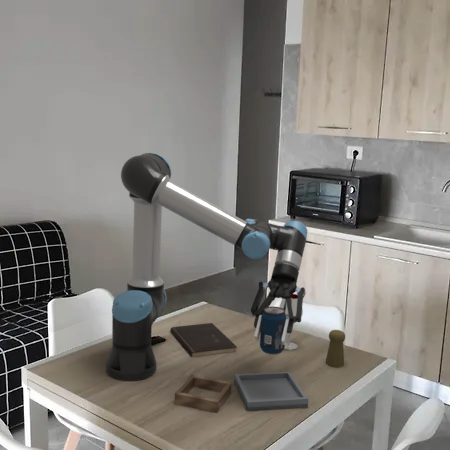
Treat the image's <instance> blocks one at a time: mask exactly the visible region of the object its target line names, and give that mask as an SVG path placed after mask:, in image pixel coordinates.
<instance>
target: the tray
mask: <svg viewBox="0 0 450 450" xmlns="http://www.w3.org/2000/svg"><path fill="white" fill-rule="evenodd" d="M233 377H234V378H233V382H234V385H235V387H236V389H237V391H238V394H239V395H240V397H241V399H242V402H243V404H244V406H245V408H246V410H247V412H250V411H252V412H253V411H267V410H268V411H269V410H284V409H297V408H298V409H299V408H308V406H309V397H308V396H307V395H306V393H305V392H304V390H303V388H301V386H300V385H299V383H298V382H297V380H296V379H295V377H294V376H293V374H292V373H291V372H290V371H278V372H277V371H274V372H273V371H272V372H271V371H270V372H257V373H256V372H255V373H254V372H253V373H252V372H251V373H234V376H233Z"/></svg>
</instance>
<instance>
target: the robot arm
mask: <svg viewBox="0 0 450 450" xmlns="http://www.w3.org/2000/svg"><path fill="white" fill-rule="evenodd" d="M171 178H172V168H171V165H170V163H169V161H168V160H167V159H166V158H165V157H164V156H163V155H161V154H158V153H154V152H153V153H152V152H145V153H142V154H140V155H135V156H132V157H130V158H129V159H127V160H126V162H124V164H123V165H122V168H121V172H120V180H121V182H122V184H123V186H124V188H125V190H127V191H128V192H129V194H128V195H129V196H128V197H129V199H131V200H132V202H133V206H134V207H133V235H132V238H133V239H132V241H133V242H132V272H131V273H132V274H131V277H129V278H128V279H127V284H126V285H127V286H126V289H127V290H126V291H125V292H120V293H119V294H117V295H116V296H115V297H114V299H113V300H112V306H111V313H112V318H111V319H112V323H111V325H112V326H111V327H112V329H111V330H112V331H111V332H112V336H111V337H112V338H111V339H112V342H111V343H112V346H111V349H110V352H109V354H108V357H107V360H106V363H105V364H106V365H105V369H106V370H105V372H106V373H107V375H108V376H109V377H111V378H114V379H116V380H118V381H119V380H120V381H129V382H130V381H139V380H140V381H141V380H145V379H148V378H149V377H152V376H153V375H154V374H155V373H156V372H157V363H158V362H157V360H156V355H155V353H154V349H153V346H152V328H153V324H154V323H155V321H156V320H157V319H158V318H159V317H160V316H161V315H162V313H163V312H164V311H165V308H166V305H167V300H168V299H167V293H166V290H165V287H164V286H165V281H164V279H162V277H161V276H160V272H161V271H160V270H161V269H160V268H161V267H160V266H161V244H162V243H161V240H162V239H161V237H162V236H161V234H162V213H163V211H162V210H163V208H165V209H166V210H169V211H171V212H172V213H174V214H176V215H178V216H179V217H181V218H183V219H186V221H188V222H191V223H192V224H195V225H196V226H198V227H200V228H202V229H203V230H205V231H207V232H208V233H211V234H212V235H214V236H216V237H219V238H220V239H222V240H224V241H226V242H227V243H229V244H231V245H233V246H235V247H236V248H238V249H240V250H242V252H243V254H244V255H245V256H246V257H248V258H250V259H252V260H258V259H261V258H263V257H265V255H267V253H268V252H269V251H270V250H273V251H277V254H276V256H275V261H274V266H273V268H272V273H271V277H270V280H269V281H268V282H263V281H259V282H258V290H257V292H256V294H255V298H254V300H253V303H252V305H251V308H250V313H251V314H252V316H254V317H255V318H254V322H253V326H254V328H255V332H254V335H253V336H254V339H255V341H260V334H261V316H262V313H263V311H264V308H266V307H271V304H272V303H273V302H274V301H275V299H281V300H282V299H286V303H287V308H288V314H289V319H286V322H285V326H284V331H283V335H282V340H281V341H282V345H285V344H286V342H287V340H288V333H290V334H292V332H293V329H294V328H293V327H294V324H295V322H296V323H302V317H303V314H302V309H303V305H304V304H303V303H304V302H303V301H304V298H305V295H306V288H305V287H304V286H303V287H299V286H297V283H298V278H299V274H300V273H299V272H300V270H301V264H302V259H303V257H304V251H305V248H306V243H307V239H308V238H307V237H308V228H307V226H306V225H305V224H304V223H303V222H301V221H298V220H293V221H292V220H288V221H287V222H285V223H284V225H277V224H273V223H270V222H266V221H262V220H259V219H253V218H246V219H245V220H243V219H242V218H240V217H238V216H237V215H235V214H233V213H231V212H228V211H227V210H225V209H224V208H222V207H220V206H218V205H216V204H214V203H212V201H211V202H210V201H209V200H207V199H206V198H203V197H201V196H200V195H198V194H196V193H194V192H192V191H191V190H188V189H187V188H185V187H183V186H182V185H179V184H177V183H176V182H174V181H173V180H171ZM268 288H269V292H268V295H267V297H266V298H265V299H264V300H263V301H262V299H263V297H264V294H265V292H266V291H267V289H268ZM295 293H296V294H297V295H298V299H297V311H296V316H293V311H292V305H291V299H290V296H291V295H292V294H295ZM261 302H262V303H261ZM301 316H302V317H301Z"/></svg>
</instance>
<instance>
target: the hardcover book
mask: <svg viewBox="0 0 450 450" xmlns="http://www.w3.org/2000/svg"><path fill="white" fill-rule="evenodd" d="M170 333H171V334H172V336H173V337H174V338H175V339H176V340H177V342H178V343H179V344H180V345H181V347H182V348H183V349H184V350H185V351H186V353H188V355H189V356H190V357H191V358H193V357H194V358H195V357H203V356H210V355H219V354H227V353H234V352H236V349H237V348H238V346H237V345H236V344H234V342H233V341H232V340H230V339H229V338H228V337H227V336H226V335H225V334H224V333H223V332H222V331H221V330H220V329H219V328H218V327H217V326H216V325H215V324H214V323H213V322H209V323H197V324H189V325H179V326H172V327H171V328H170Z"/></svg>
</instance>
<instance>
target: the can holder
mask: <svg viewBox="0 0 450 450" xmlns="http://www.w3.org/2000/svg"><path fill="white" fill-rule="evenodd" d="M193 388H198V389H202V390H207V391H212V392H216V393H217V392H218V393H219V394H218V395H217V396H216V398H210V397H205V396H201V395H200V396H199V395H196V394H195V395H194V394H190V392H191V391H192V390H193ZM232 393H233V382H229V381H226V380H220V379H215V378H210V377H205V376H200V375H194V374H191V375H190V376H189V377H188V378H187V379H186V380H185V381H184V383H183V384H182V385H181V386H180V387H179V388H178V389H177V390H176V391H175V392H174V404H175V405H180V406H184V407H187V408H193V409H197V410H203V411H207V412H212V413H213V412H214V413H217V414H218V413H219V412H220V410H221V409H222V407H223V406H224V405H225V403H226V401H227V400H228V399H229V397H230V395H232Z"/></svg>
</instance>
